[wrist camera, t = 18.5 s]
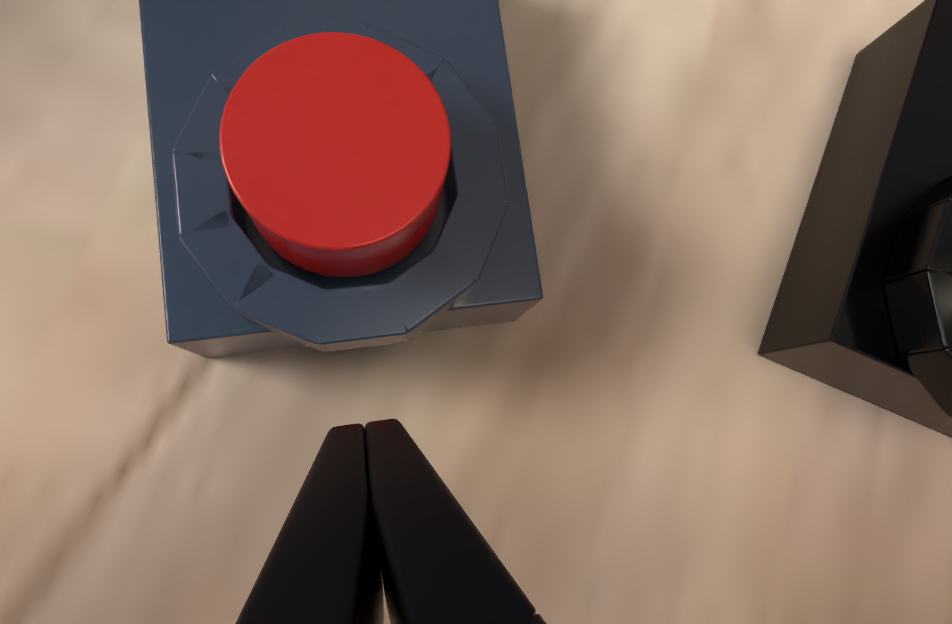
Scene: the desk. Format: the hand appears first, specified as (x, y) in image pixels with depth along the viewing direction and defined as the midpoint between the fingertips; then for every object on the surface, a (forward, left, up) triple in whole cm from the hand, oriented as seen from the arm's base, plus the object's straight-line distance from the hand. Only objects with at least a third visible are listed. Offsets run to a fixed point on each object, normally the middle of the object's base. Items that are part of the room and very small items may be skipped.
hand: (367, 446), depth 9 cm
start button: (+3, +5, -7) cm, 9 cm away
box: (+4, +7, -12) cm, 15 cm away
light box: (+17, -7, -12) cm, 22 cm away
